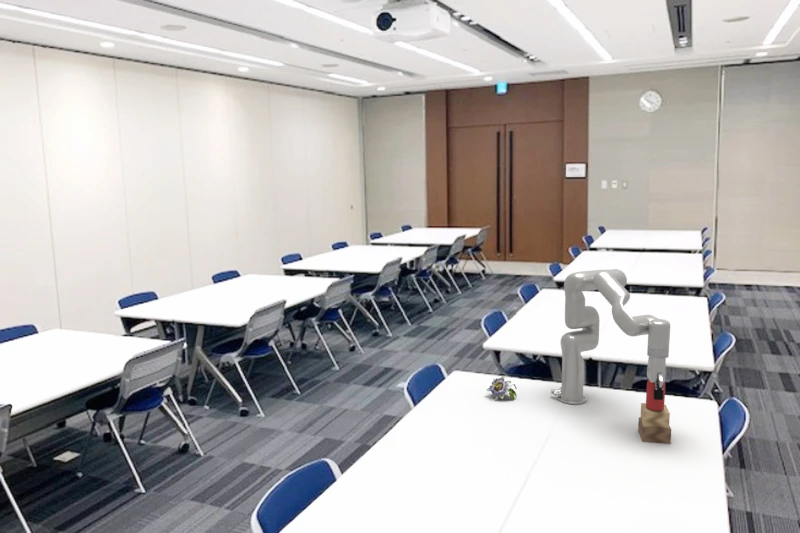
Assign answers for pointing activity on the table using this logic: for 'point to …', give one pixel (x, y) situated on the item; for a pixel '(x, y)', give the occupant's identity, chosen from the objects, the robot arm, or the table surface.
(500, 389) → the passion flower
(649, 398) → the beer can
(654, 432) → the walnut block
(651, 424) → the oak block
